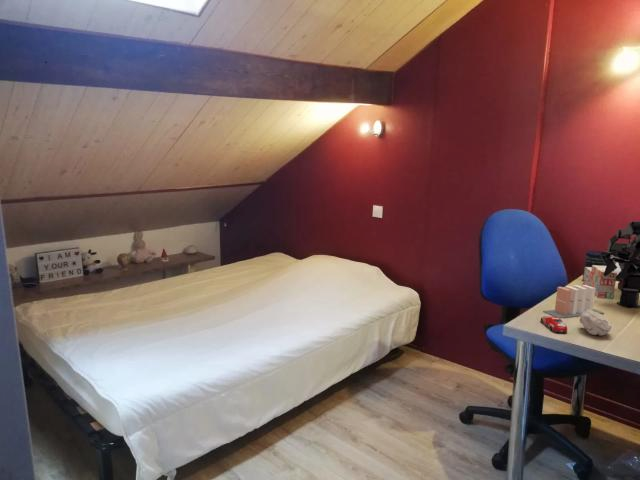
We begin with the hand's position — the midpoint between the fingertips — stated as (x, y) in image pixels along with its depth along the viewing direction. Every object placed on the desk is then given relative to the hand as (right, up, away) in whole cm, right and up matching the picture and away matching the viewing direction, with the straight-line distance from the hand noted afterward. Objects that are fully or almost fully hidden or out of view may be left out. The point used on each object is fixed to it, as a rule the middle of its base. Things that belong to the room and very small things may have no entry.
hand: (610, 277), depth 190 cm
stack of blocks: (+11, -9, +28) cm, 31 cm away
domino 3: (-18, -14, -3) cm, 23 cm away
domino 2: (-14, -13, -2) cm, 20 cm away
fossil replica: (-20, -18, -23) cm, 35 cm away
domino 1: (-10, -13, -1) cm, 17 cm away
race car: (-32, -17, -18) cm, 41 cm away
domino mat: (-16, -14, -2) cm, 21 cm away
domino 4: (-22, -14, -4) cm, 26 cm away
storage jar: (+19, -6, +44) cm, 49 cm away
